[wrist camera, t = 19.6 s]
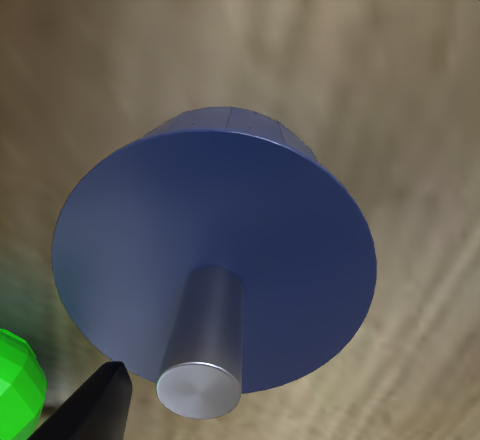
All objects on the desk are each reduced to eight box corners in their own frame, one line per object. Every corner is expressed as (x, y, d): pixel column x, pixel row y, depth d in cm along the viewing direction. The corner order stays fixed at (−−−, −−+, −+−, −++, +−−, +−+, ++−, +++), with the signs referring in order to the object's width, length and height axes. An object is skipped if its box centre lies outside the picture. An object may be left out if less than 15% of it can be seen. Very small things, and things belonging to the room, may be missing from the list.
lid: (380, 103, 11) (481, 152, 6) (360, 369, 17) (404, 503, 12) (14, 140, 12) (-146, 209, 7) (112, 381, 18) (59, 511, 13)
